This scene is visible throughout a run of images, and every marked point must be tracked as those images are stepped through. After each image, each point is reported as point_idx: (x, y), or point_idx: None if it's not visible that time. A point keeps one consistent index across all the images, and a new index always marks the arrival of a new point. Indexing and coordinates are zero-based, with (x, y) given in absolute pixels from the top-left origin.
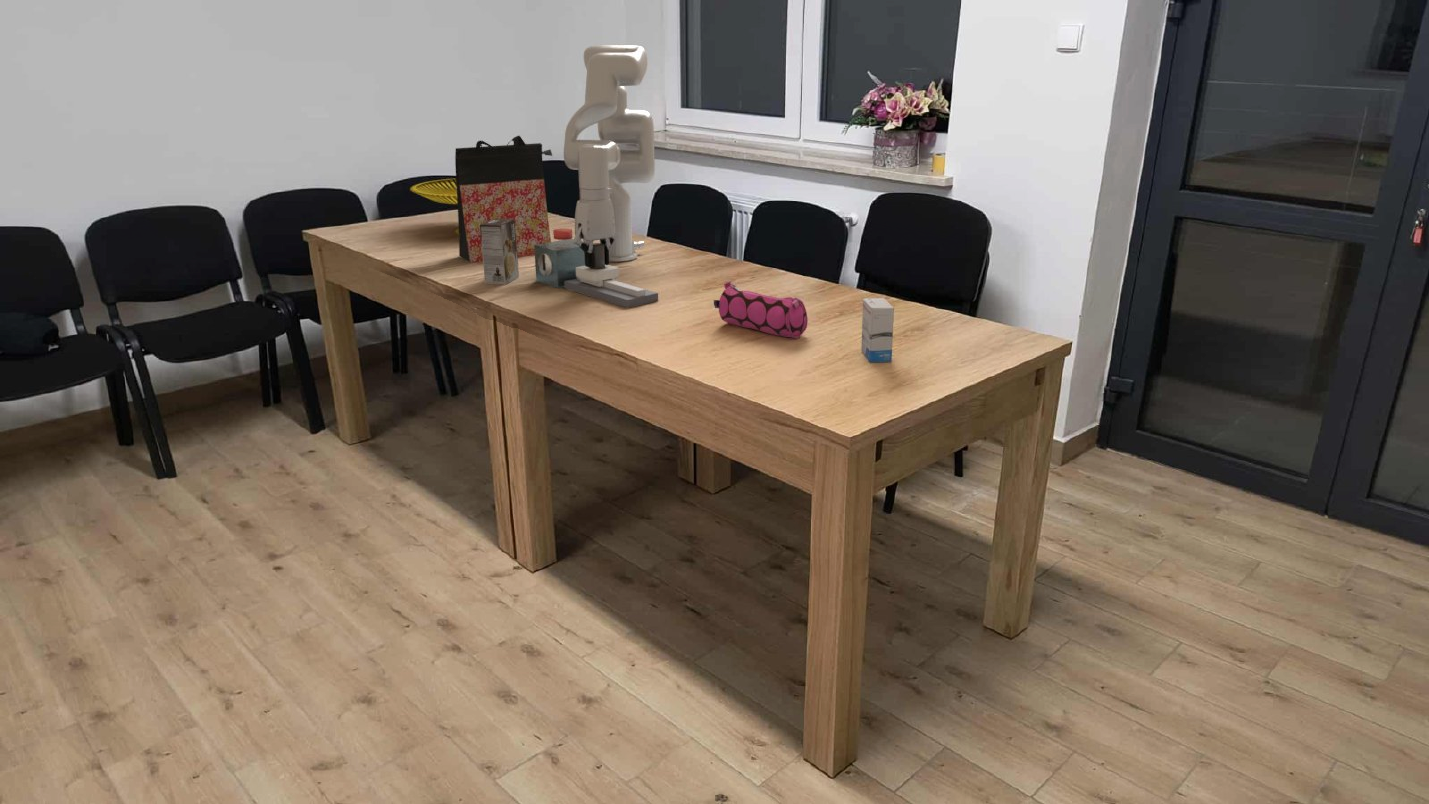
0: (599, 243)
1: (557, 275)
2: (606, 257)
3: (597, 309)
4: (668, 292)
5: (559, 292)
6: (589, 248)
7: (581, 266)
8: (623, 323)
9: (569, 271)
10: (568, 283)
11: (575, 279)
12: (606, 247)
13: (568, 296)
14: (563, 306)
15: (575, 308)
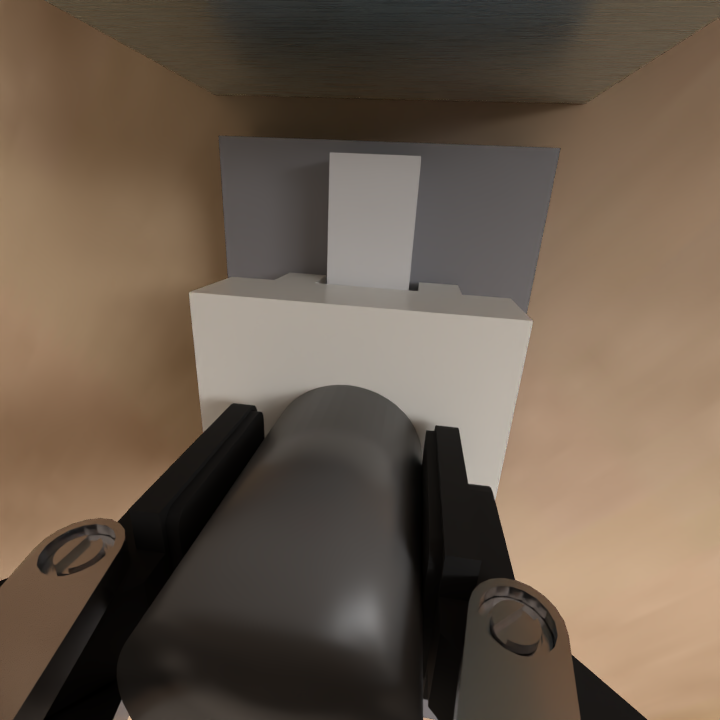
0: (386, 710)
1: (153, 59)
2: None
3: None
4: (601, 649)
5: (165, 208)
6: (66, 709)
7: (259, 305)
8: None
9: (293, 56)
10: (226, 201)
11: (322, 160)
12: (447, 718)
13: (164, 328)
14: (59, 445)
15: (91, 504)
